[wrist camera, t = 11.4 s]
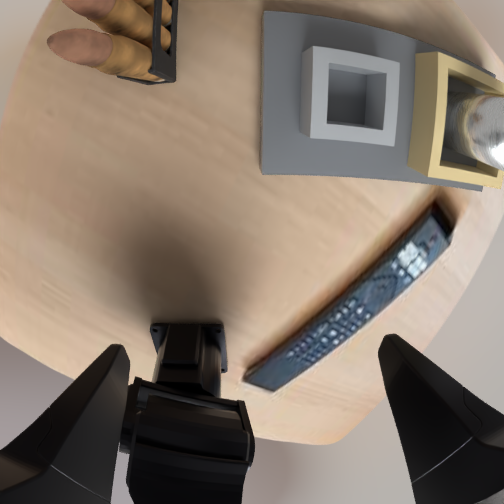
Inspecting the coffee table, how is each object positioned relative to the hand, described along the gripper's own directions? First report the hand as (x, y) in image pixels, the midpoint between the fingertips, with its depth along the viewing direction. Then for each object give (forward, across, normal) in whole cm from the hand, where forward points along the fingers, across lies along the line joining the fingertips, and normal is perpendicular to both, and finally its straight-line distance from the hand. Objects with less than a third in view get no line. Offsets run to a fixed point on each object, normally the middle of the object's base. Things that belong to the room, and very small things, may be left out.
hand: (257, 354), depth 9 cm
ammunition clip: (+12, +5, -14) cm, 19 cm away
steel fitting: (+10, -14, -8) cm, 20 cm away
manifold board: (+12, -10, -8) cm, 18 cm away
